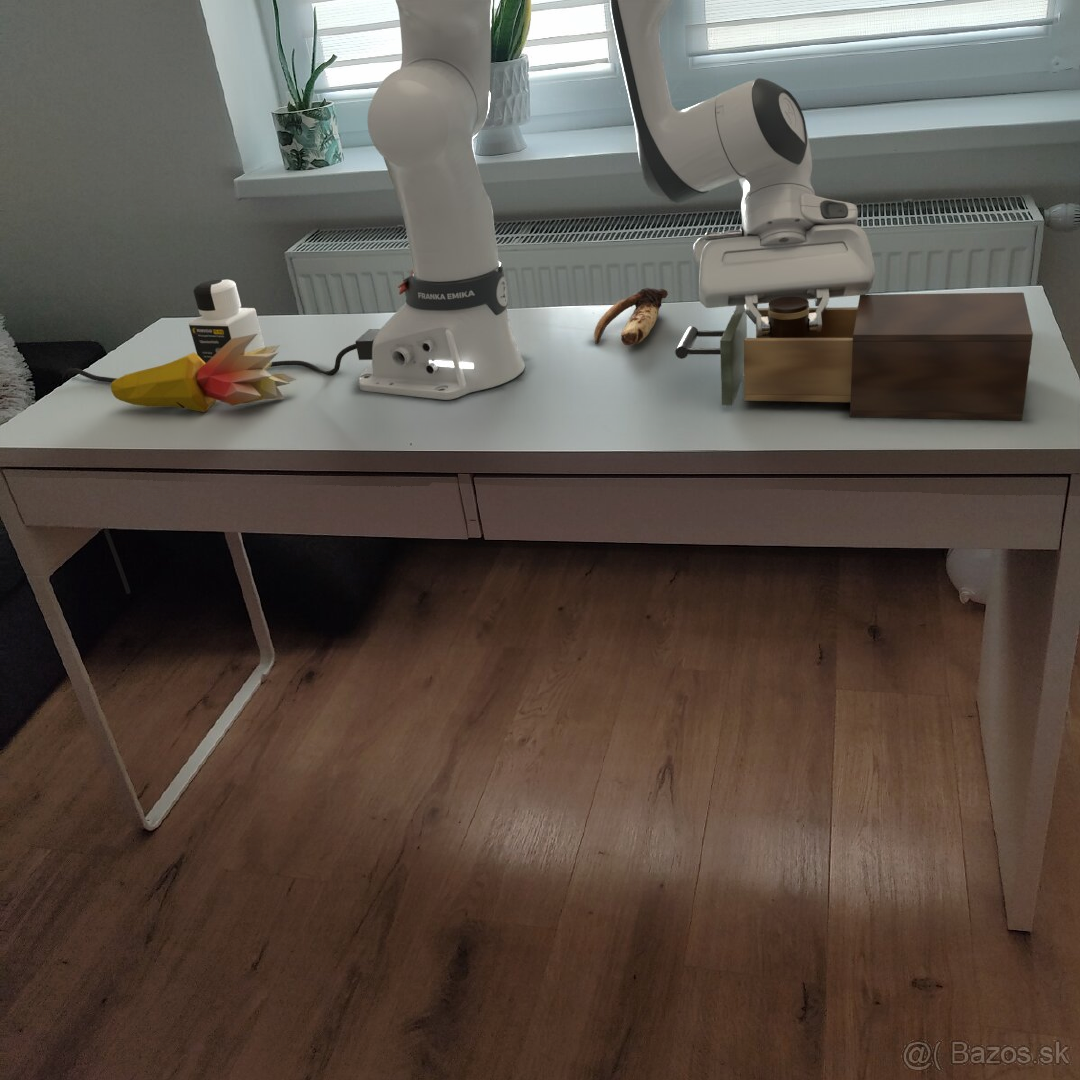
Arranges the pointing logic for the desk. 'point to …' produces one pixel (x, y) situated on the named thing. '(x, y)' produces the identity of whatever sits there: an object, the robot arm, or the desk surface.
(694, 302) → the desk surface
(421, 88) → the robot arm
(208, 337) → the medicine bottle
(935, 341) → the cabinet
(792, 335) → the banded brown cylinder
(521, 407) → the desk surface
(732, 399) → the drawer
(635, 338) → the bone fish hook
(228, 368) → the torch
